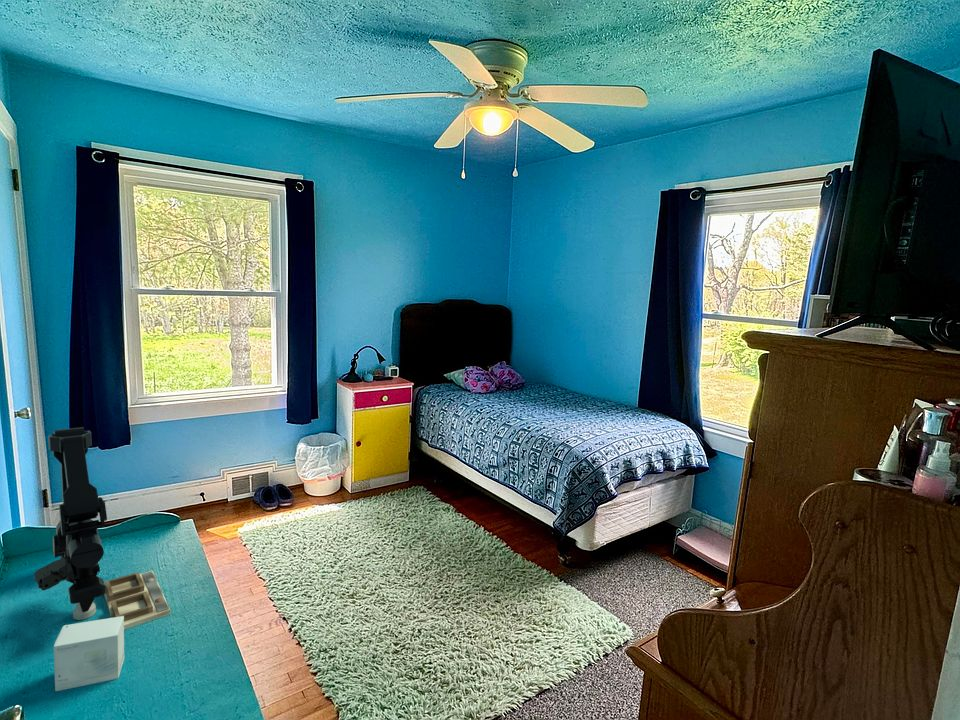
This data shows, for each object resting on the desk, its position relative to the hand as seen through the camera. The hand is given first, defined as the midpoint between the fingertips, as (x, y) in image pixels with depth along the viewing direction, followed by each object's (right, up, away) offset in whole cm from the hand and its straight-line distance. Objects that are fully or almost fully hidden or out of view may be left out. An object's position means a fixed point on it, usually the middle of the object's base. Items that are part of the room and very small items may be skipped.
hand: (84, 607), depth 119 cm
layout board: (+8, -2, +6) cm, 10 cm away
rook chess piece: (0, -2, 0) cm, 2 cm away
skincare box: (+14, -6, -16) cm, 22 cm away
